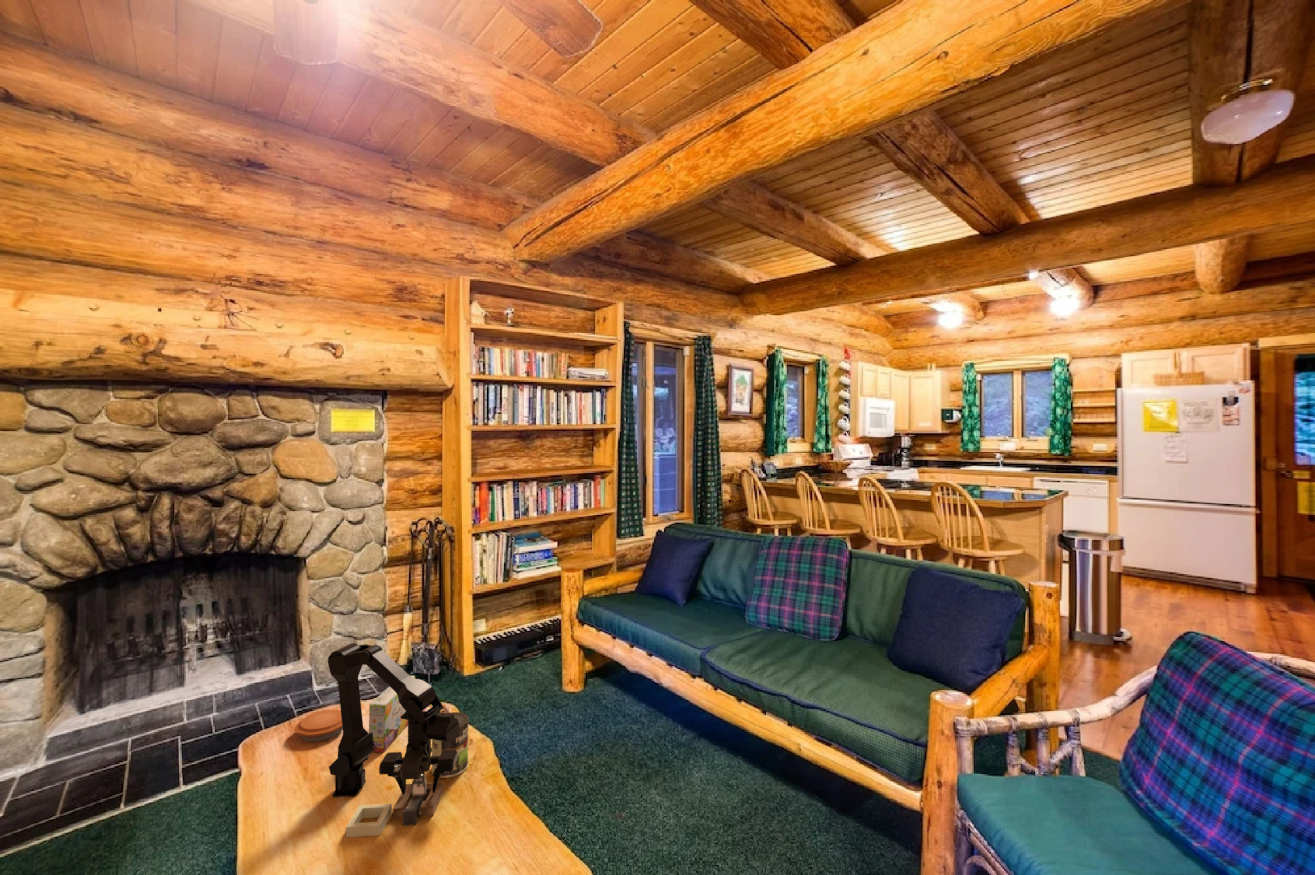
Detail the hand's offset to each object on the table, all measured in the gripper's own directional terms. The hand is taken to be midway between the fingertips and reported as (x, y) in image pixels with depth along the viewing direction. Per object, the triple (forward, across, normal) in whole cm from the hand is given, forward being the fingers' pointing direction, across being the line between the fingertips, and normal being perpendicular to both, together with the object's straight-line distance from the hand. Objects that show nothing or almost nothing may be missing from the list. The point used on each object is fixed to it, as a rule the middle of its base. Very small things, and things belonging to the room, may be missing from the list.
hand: (419, 793), depth 152 cm
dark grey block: (+3, 0, -6) cm, 6 cm away
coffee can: (+3, +4, +16) cm, 17 cm away
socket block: (+3, 0, 0) cm, 3 cm away
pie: (+3, -42, +39) cm, 57 cm away
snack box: (+3, -19, +36) cm, 41 cm away
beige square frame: (+3, -10, -7) cm, 13 cm away
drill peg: (+3, 0, 0) cm, 3 cm away
